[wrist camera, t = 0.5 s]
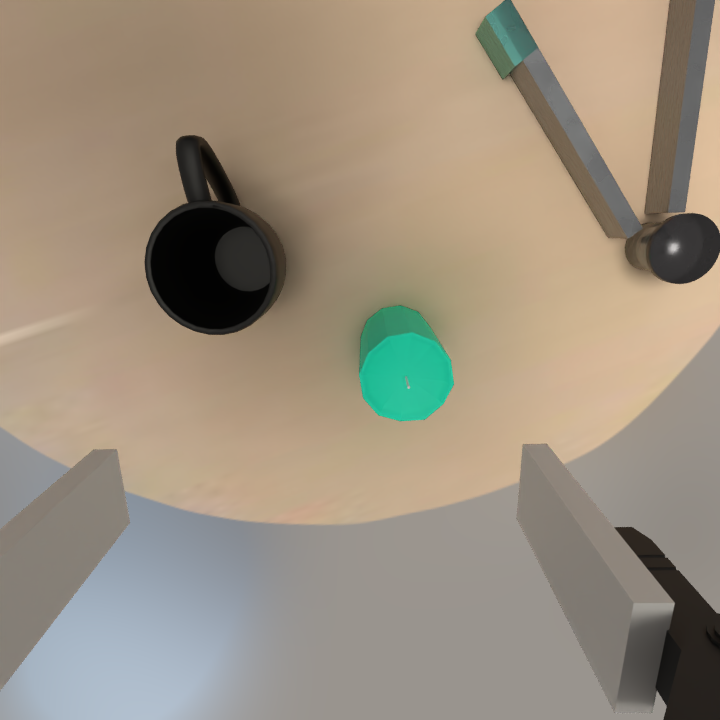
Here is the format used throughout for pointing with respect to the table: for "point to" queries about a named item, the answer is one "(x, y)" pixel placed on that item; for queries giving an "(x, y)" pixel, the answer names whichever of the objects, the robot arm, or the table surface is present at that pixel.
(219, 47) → the table surface
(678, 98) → the tongs fixed
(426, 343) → the candle
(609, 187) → the bar
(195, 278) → the mug
